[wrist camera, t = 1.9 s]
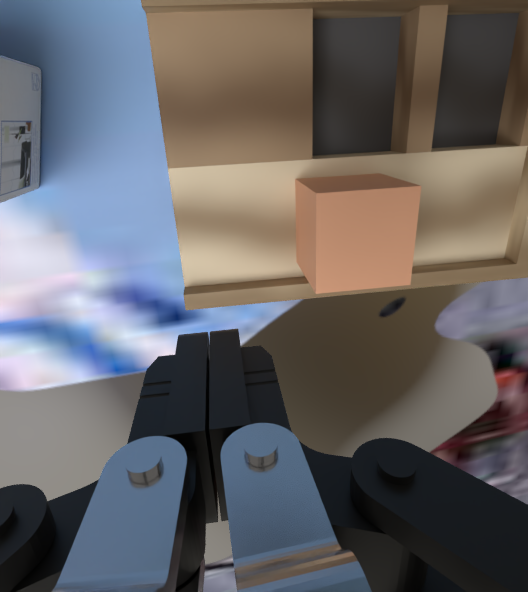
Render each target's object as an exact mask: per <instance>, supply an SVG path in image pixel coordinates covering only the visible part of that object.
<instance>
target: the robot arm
mask: <svg viewBox="0 0 528 592" xmlns="http://www.w3.org/2000/svg"><path fill="white" fill-rule="evenodd" d="M217 491H218V494H217ZM218 498H219V506H220V513H221V520H222V521H225V520H228V521H229V529H230V537H231V545H232V553H233V561H234V569H235V577H236V585H237V592H528V505H527V504H525V503H523V502H521V501H520V500H518V499H516V498H514V497H512V496H510V495H508V494H506V493H504V492H503V491H501V490H499V489H497V488H495V487H493V486H491V485H489V484H487V483H486V482H484V481H482V480H480V479H478V478H476V477H474V476H472V475H470V474H468V473H467V472H465V471H463V470H461V469H459V468H457V467H455V466H453V465H451V464H450V463H448V462H446V461H444V460H442V459H440V458H438V457H436V456H434V455H433V454H431V453H429V452H427V451H425V450H423V449H421V448H419V447H417V446H415V445H413V444H411V443H409V442H406V441H402V440H398V439H392V438H379V439H374V440H371V441H368V442H366V443H364V444H362V445H361V446H360V447H359V448H358V449H357V450H356V451H355V453H354V455H353V457H352V458H350V457H343V456H335V455H328V454H324V453H320V452H317V451H314V450H312V449H310V448H308V447H307V446H305V445H304V444H302V443H301V442H300V441H299V440H298V439H297V438H296V436H295V435H294V434H293V433H292V431H291V428H290V425H289V422H288V418H287V414H286V410H285V406H284V402H283V398H282V394H281V391H280V387H279V383H278V379H277V375H276V372H275V367H274V364H273V359H272V356H271V355H270V354H269V353H268V352H267V351H266V350H265V349H264V348H263V347H261V346H253V347H243V348H241V347H240V340H239V332H238V329H231V330H221V331H211V332H210V344H209V336H208V332H202V333H193V334H183V335H179V336H178V341H177V347H176V354H175V355H169V356H159V357H158V358H157V359H156V360H155V361H154V362H153V363H152V364H151V365H150V367H149V368H148V369H147V371H146V375H145V378H144V382H143V387H142V390H141V394H140V399H139V401H138V405H137V409H136V413H135V416H134V420H133V424H132V428H131V432H130V436H129V439H128V443H127V445H125V446H124V447H122V448H120V449H119V450H118V451H117V452H116V453H115V454H114V455H113V456H112V457H111V458H110V459H109V460H108V462H107V463H106V465H105V467H104V469H103V471H102V473H101V476H100V478H99V480H97V481H95V482H94V483H92V484H90V485H88V486H86V487H83V488H81V489H78V490H76V491H73V492H71V493H68V494H65V495H63V496H60V497H58V498H55V499H53V500H50V501H47V499H46V497H45V495H44V493H43V492H42V491H41V490H40V489H39V488H37V487H35V486H32V485H25V484H19V485H11V486H7V487H3V488H1V489H0V592H203V584H204V572H205V560H204V553H205V534H206V532H205V531H206V523H213V522H218Z"/></svg>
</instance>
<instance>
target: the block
mask: <svg viewBox="0 0 528 592" xmlns="http://www.w3.org/2000/svg"><path fill="white" fill-rule="evenodd" d="M420 195H421V186H420V185H417V184H414V183H410V182H407V181H404V180H400V179H397V178H394V177H391V176H387V175H384V174H381V173H376V174H361V175H347V176H332V177H317V178H302V179H295V198H296V262H297V264H298V265H299V267H300V269H301V270H302V272H303V274H304V275H305V277H306V279H307V280H308V282H309V283H310V285H311V287H312V288H313V290H314V292H315V293H316V294H320V293H331V292H341V291H352V290H362V289H373V288H383V287H394V286H404V285H410V284H411V275H412V266H413V257H414V249H415V240H416V231H417V222H418V213H419V204H420Z"/></svg>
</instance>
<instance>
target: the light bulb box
mask: <svg viewBox="0 0 528 592" xmlns="http://www.w3.org/2000/svg"><path fill="white" fill-rule="evenodd" d="M40 121H41V70H40V68H39V67H36V66H33V65H30V64H27V63H24V62H20V61H17V60H14V59H11V58H8V57H4V56H1V55H0V203H1V202H4V201H7V200H9V199H12V198H14V197H17V196H20V195H22V194H25V193H27V192H30V191H33V190H35V189H38V188H39V176H40Z"/></svg>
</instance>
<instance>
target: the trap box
mask: <svg viewBox="0 0 528 592" xmlns="http://www.w3.org/2000/svg"><path fill="white" fill-rule="evenodd" d="M141 3H142V7H143V9H144V11H145V12H146V16H147V23H148V31H149V38H150V45H151V52H152V59H153V66H154V73H155V80H156V87H157V94H158V101H159V108H160V115H161V122H162V129H163V136H164V143H165V150H166V157H167V165H168V172H169V179H170V186H171V193H172V200H173V207H174V214H175V221H176V228H177V235H178V242H179V249H180V256H181V263H182V270H183V277H184V284H185V290H184V301H185V308H186V310H193V309H203V308H214V307H224V306H235V305H245V304H255V303H266V302H276V301H287V300H297V299H307V298H318V297H328V296H338V295H349V294H359V293H370V292H380V291H390V290H401V289H412V288H422V287H433V286H443V285H453V284H463V283H474V282H485V281H495V280H506V279H516V278H526V277H528V0H141ZM376 173H381V174H384V175H387V176H391V177H394V178H397V179H400V180H404V181H407V182H410V183H414V184H417V185H420V186H421V195H420V204H419V213H418V222H417V231H416V240H415V249H414V257H413V266H412V275H411V284H410V285H404V286H394V287H383V288H373V289H362V290H352V291H341V292H331V293H320V294H316V293H315V292H314V290H313V288H312V287H311V285H310V283H309V282H308V280H307V279H306V277H305V275H304V274H303V272H302V270H301V269H300V267H299V265H298V264H297V262H296V198H295V179H302V178H317V177H332V176H347V175H361V174H376Z"/></svg>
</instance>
